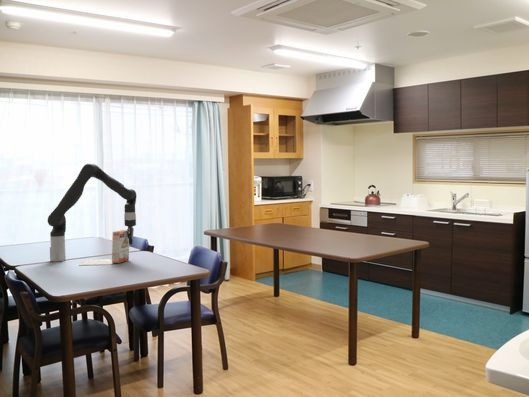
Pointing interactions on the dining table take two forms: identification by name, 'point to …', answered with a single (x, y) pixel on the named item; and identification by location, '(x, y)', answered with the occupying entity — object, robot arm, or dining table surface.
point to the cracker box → (120, 246)
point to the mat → (97, 262)
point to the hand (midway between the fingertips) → (130, 244)
